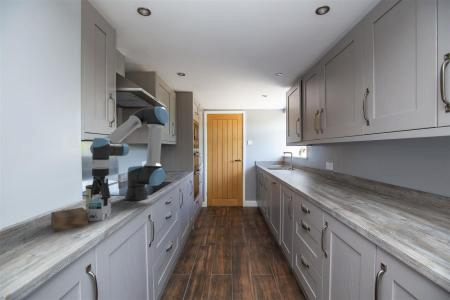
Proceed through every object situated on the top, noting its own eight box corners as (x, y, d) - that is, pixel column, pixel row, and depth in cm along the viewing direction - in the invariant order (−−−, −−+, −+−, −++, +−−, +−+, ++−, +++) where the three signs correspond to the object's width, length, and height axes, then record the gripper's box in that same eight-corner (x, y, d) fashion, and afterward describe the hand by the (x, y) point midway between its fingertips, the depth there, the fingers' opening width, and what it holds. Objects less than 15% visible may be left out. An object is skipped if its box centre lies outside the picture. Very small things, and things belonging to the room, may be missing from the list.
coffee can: (110, 207, 123) (110, 183, 123) (99, 212, 112) (99, 187, 112) (93, 206, 123) (93, 183, 123) (80, 212, 113) (81, 186, 113)
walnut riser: (82, 219, 103) (82, 207, 103) (87, 225, 94) (88, 212, 94) (51, 225, 95) (51, 212, 94) (54, 233, 86) (54, 218, 86)
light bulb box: (102, 220, 100) (103, 199, 100) (87, 221, 99) (88, 199, 99) (111, 214, 111) (111, 194, 111) (97, 214, 110) (97, 194, 110)
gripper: (84, 166, 110) (83, 206, 110) (101, 170, 94) (100, 216, 94) (100, 166, 116) (99, 203, 116) (118, 169, 99) (117, 213, 99)
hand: (99, 209), depth 105 cm, fingers open, 13 cm apart
